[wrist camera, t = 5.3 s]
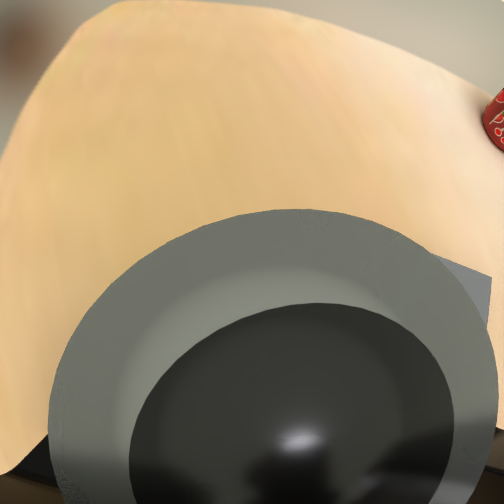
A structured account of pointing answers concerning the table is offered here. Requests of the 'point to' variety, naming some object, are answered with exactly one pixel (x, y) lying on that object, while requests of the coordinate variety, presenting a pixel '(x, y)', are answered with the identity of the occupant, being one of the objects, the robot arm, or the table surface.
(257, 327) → the steel sleeve
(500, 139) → the smoothie
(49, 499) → the robot arm
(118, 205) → the table surface
